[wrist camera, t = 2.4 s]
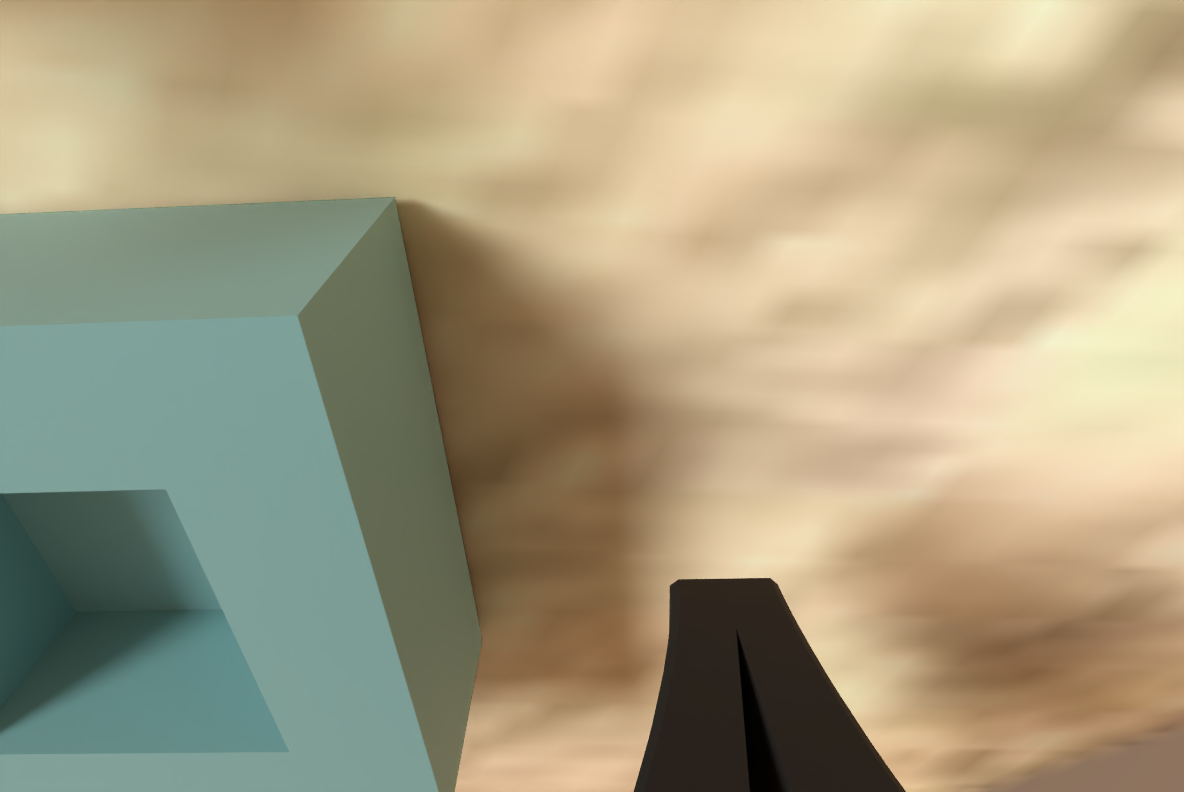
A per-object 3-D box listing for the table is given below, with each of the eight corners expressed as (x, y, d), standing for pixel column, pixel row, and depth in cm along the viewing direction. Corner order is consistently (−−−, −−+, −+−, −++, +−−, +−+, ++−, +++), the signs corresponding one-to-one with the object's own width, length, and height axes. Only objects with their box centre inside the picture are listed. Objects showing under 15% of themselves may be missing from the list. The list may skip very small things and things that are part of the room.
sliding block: (50, 646, 17) (-91, 826, 13) (-237, 225, 11) (-596, 347, 8) (482, 639, 16) (448, 824, 13) (394, 197, 11) (296, 315, 8)
